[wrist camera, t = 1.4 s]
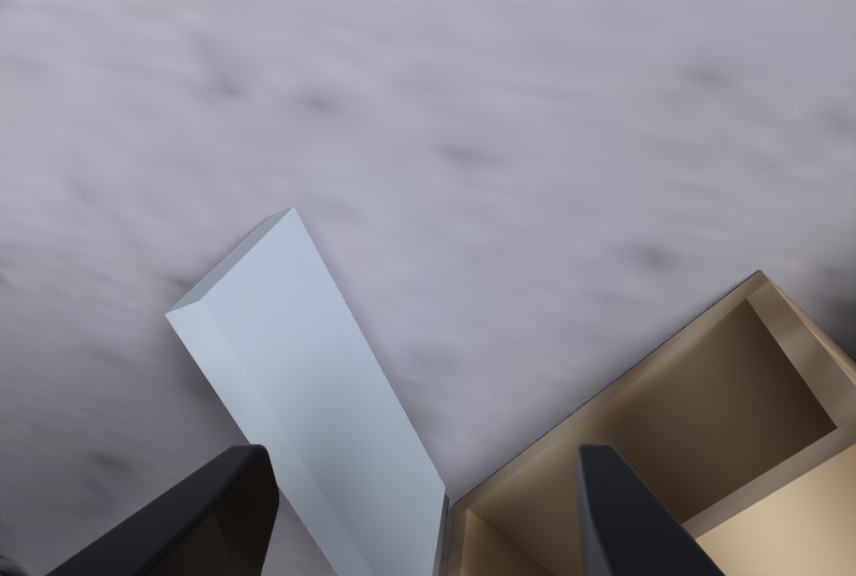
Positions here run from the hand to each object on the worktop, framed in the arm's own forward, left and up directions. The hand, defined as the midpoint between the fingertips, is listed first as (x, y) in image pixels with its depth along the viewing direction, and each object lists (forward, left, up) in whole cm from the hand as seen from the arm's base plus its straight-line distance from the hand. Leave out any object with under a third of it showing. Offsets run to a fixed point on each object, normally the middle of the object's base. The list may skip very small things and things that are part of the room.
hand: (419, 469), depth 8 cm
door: (+8, +2, -12) cm, 15 cm away
